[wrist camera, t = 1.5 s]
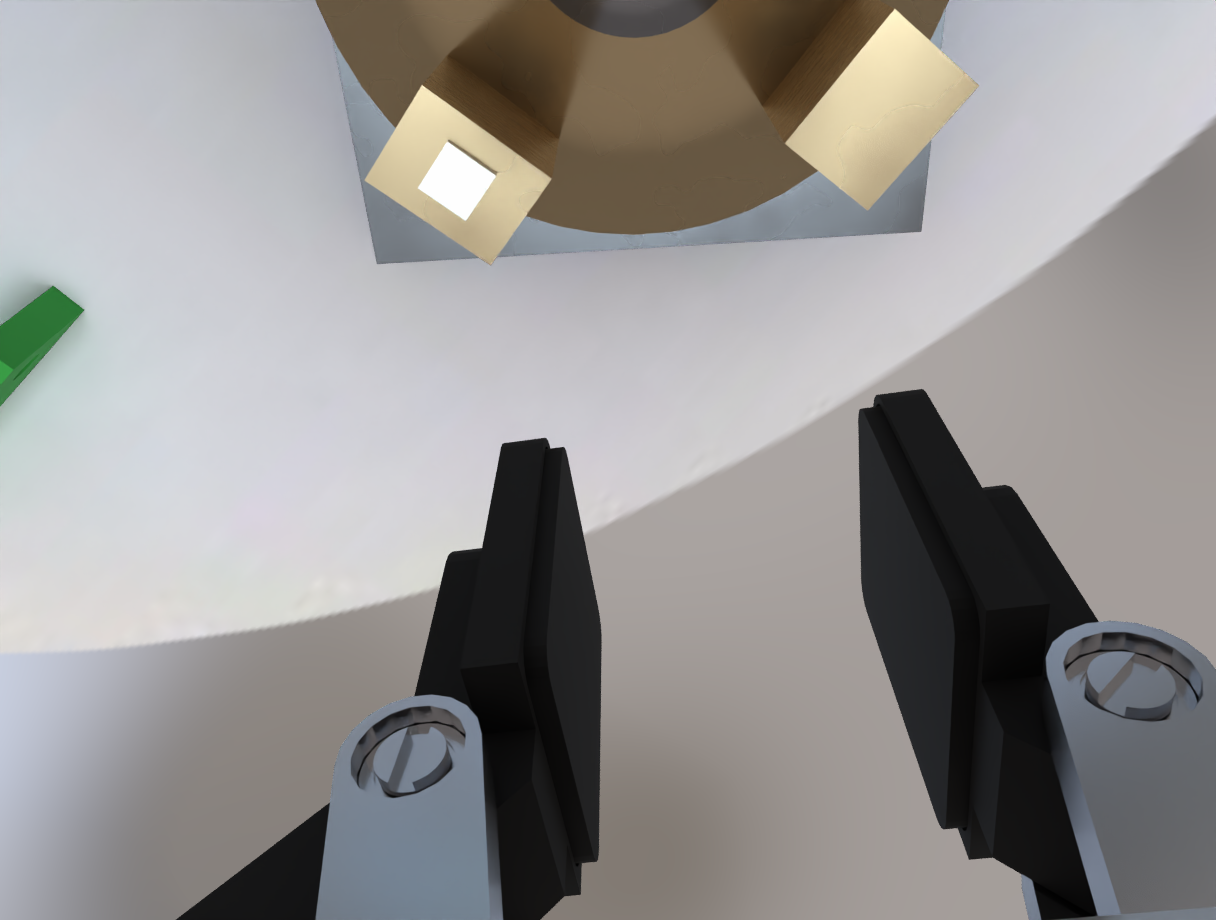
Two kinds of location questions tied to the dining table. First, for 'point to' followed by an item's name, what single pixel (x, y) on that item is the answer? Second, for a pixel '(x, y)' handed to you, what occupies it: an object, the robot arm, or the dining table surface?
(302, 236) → the dining table surface
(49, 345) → the pipe clamp
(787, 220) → the mounting plate
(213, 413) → the dining table surface
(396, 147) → the ring nut
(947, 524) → the robot arm
